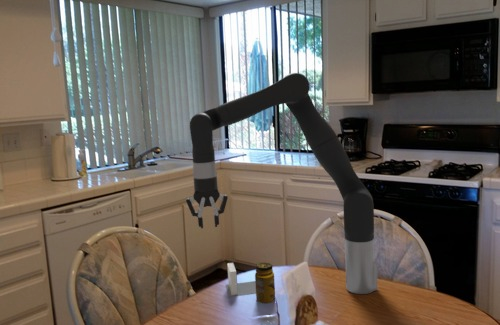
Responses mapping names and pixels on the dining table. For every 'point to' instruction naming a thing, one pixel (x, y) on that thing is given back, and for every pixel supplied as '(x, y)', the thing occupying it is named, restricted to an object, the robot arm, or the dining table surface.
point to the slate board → (243, 288)
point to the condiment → (264, 283)
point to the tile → (232, 279)
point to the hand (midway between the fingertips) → (208, 226)
